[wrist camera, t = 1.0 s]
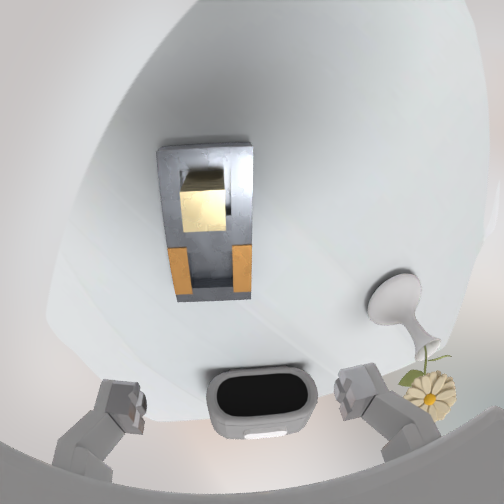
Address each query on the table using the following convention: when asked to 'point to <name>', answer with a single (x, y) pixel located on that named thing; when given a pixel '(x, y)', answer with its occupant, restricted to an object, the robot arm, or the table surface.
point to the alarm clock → (261, 402)
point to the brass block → (203, 201)
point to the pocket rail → (209, 242)
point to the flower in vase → (403, 312)
